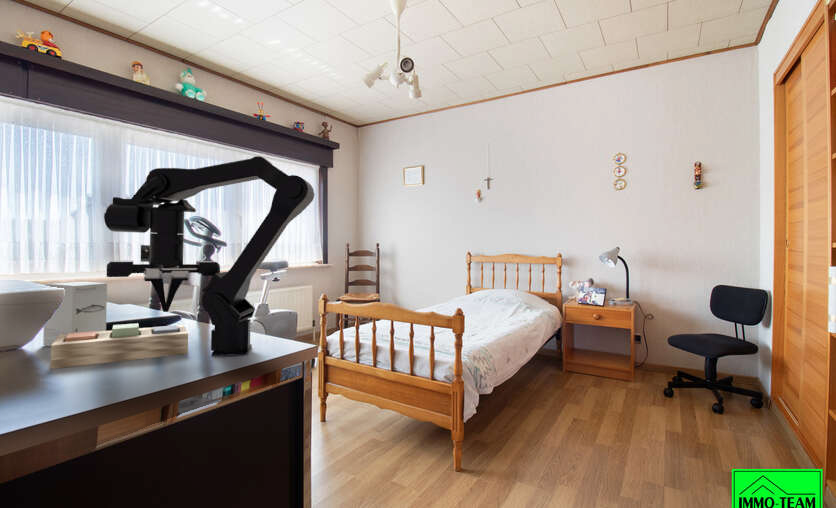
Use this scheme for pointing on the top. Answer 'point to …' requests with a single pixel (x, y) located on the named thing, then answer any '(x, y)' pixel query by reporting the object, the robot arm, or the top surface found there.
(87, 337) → the key terracotta
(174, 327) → the key slate
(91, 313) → the supplement box
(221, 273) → the robot arm
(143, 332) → the wooden slotted block
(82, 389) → the top surface
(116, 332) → the key sage
